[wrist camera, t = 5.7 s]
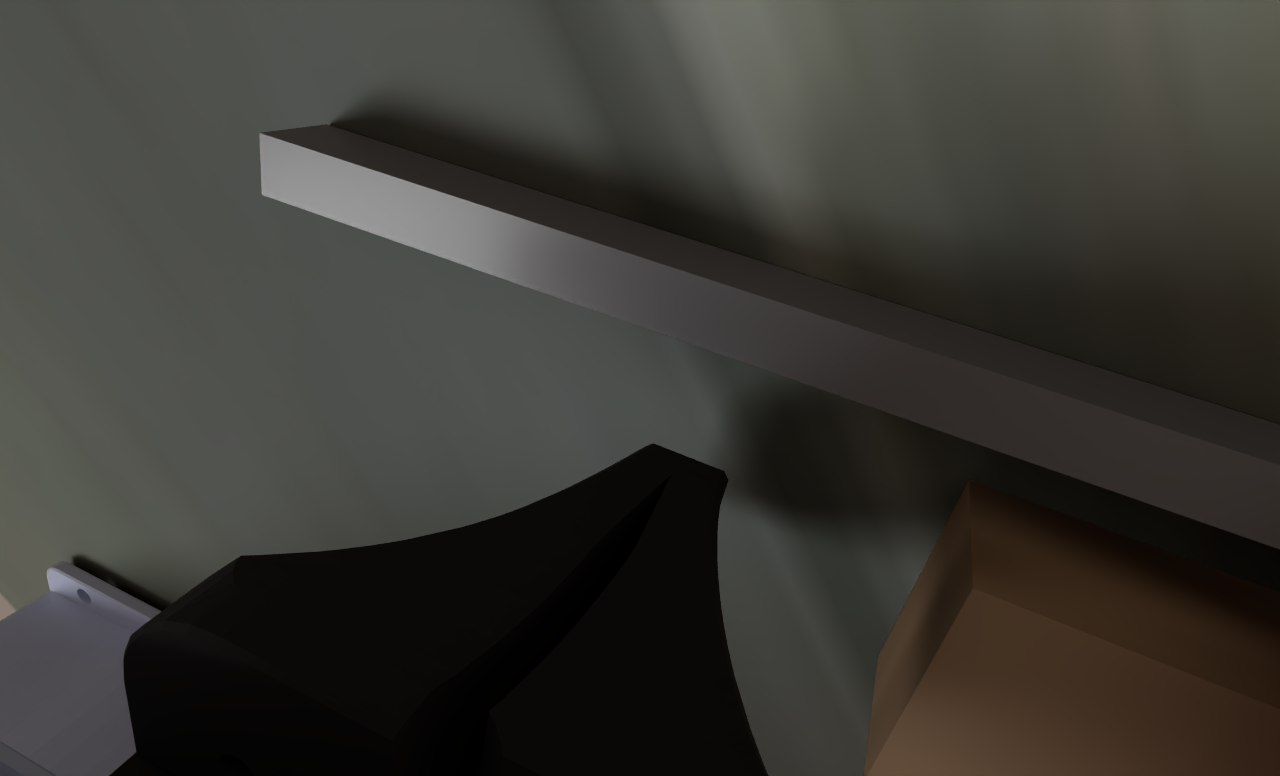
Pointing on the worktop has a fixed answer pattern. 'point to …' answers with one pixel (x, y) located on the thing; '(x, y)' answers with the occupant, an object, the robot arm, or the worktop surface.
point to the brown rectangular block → (1073, 656)
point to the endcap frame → (802, 328)
